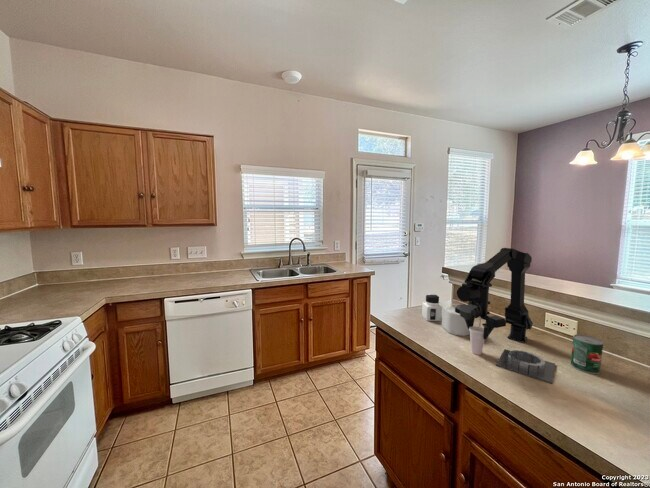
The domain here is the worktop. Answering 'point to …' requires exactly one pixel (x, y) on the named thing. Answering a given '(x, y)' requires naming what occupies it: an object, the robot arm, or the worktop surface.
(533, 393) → the worktop surface
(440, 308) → the container
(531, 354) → the duct collar
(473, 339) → the smoothie
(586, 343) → the canned tomato
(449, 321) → the toilet tissue
